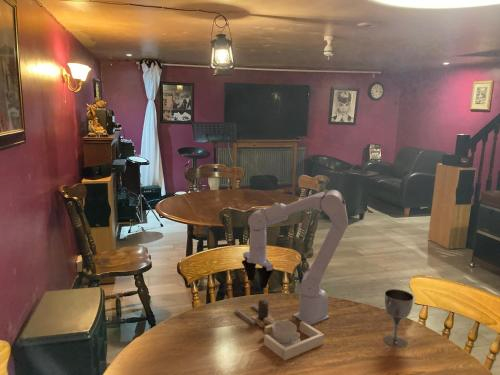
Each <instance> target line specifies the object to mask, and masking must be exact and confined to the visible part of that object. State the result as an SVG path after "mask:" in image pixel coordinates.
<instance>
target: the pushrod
mask: <svg viewBox="0 0 500 375" xmlns="http://www.w3.org/2000/svg"><path fill="white" fill-rule="evenodd" d="M257 306H258V311H257V314H255V315H252V316H251V319H253V320H254V321H256V325H258V326H260V327H261V328H264V333H265V335H266V334H267V335H270V334H271V333H273V331H272V325H273V323H275V322H277V321H276V320H275V319H274V318H271V317H270V316H268V313H269V301H268V300H266V299H261V300H259V301H258V305H257ZM281 321H290V322H292V323H293V319H292V318H291V317H288V318H285V319H282V320H281Z"/></svg>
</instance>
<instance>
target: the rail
mask: <svg viewBox="0 0 500 375" xmlns="http://www.w3.org/2000/svg"><path fill="white" fill-rule="evenodd" d="M250 306H251V308H252V309H253V310H255V311H257V312H258V305H257V304H256V303H252V304H251V305H250ZM234 310H235V311H234V312H235V313H236V314H237V315H239V316H240V317H241V318H242V319H244V320H245V321H247V322H248V323H249V324H250V325H252V326H257V323H256V321H254V320H253V319H252V317H250V316H249V315H247V313H244V312H243V311H242V310H240V309H239V308H235V309H234ZM268 316H270V317H271V318H273V317H274V316H273V315H271V314H270V313H269V312H268ZM273 319H274V318H273Z"/></svg>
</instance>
